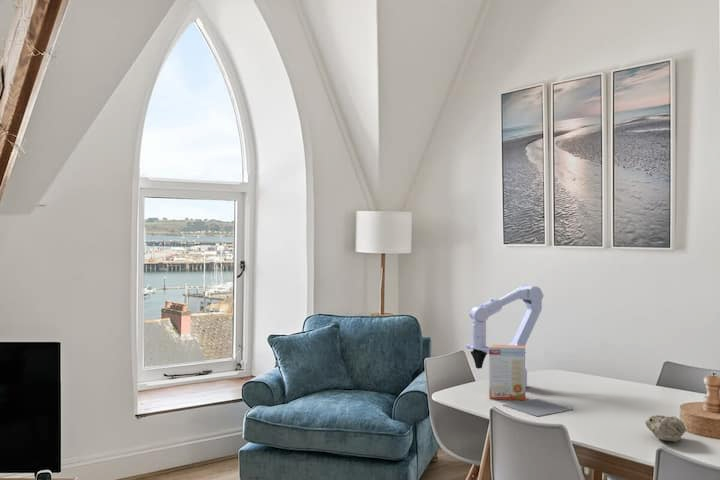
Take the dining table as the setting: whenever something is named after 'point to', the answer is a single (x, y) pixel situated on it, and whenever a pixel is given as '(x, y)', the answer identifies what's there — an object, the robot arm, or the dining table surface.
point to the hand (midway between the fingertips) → (478, 368)
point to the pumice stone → (666, 427)
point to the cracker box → (507, 372)
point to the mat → (537, 407)
